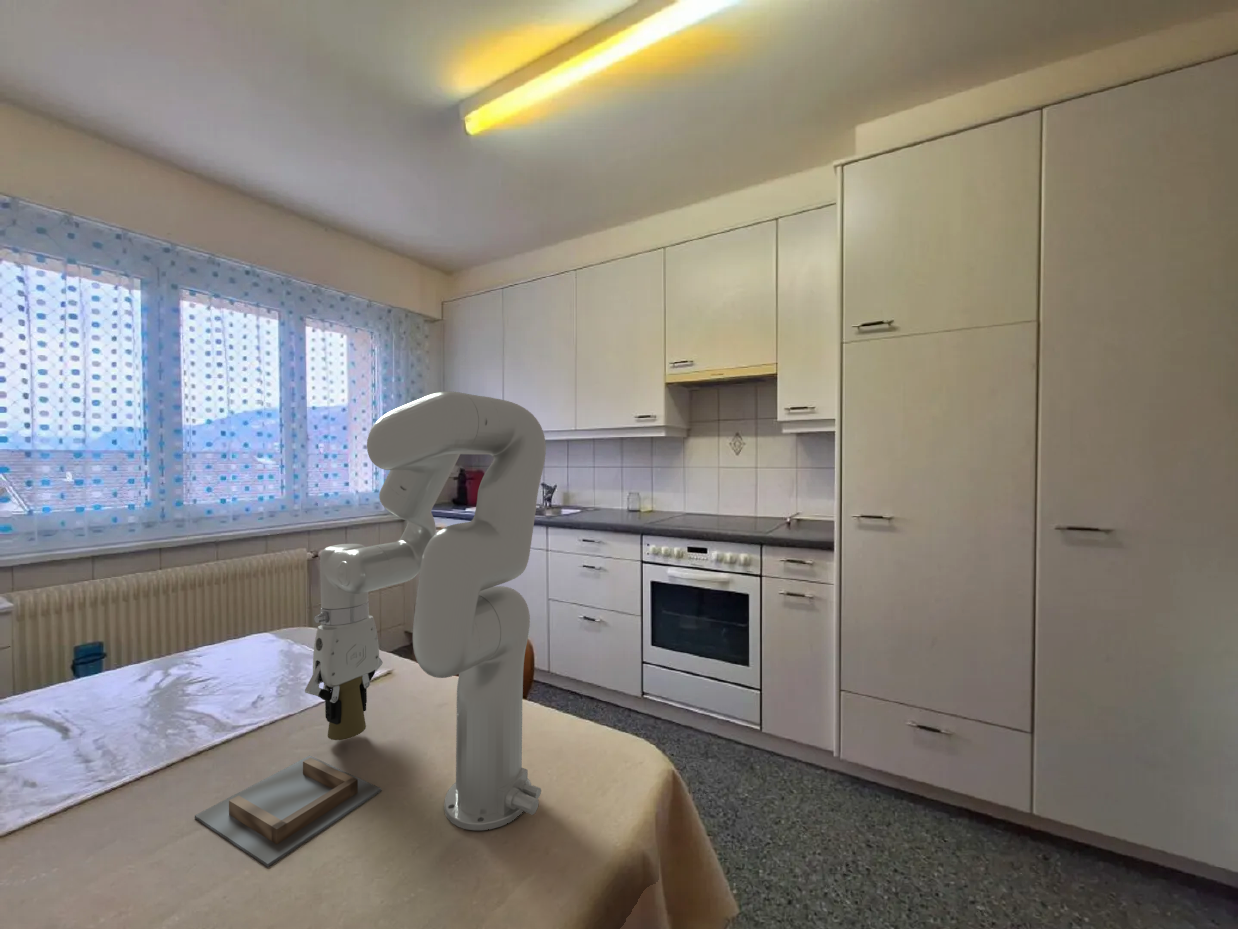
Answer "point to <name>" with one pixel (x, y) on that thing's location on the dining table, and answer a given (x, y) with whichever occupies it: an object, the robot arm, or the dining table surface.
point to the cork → (349, 712)
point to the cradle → (287, 808)
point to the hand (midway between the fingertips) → (346, 715)
